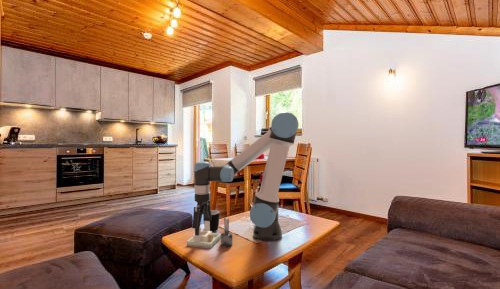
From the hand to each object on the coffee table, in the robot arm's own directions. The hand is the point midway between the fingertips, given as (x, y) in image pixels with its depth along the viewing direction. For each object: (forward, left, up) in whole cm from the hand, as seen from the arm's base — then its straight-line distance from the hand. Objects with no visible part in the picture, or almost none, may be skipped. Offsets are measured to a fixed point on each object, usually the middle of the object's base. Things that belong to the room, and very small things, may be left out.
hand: (202, 237), depth 124 cm
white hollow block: (0, 0, -1) cm, 1 cm away
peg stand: (-13, 0, -2) cm, 13 cm away
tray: (-1, 0, -2) cm, 2 cm away
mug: (+3, -17, -2) cm, 17 cm away
